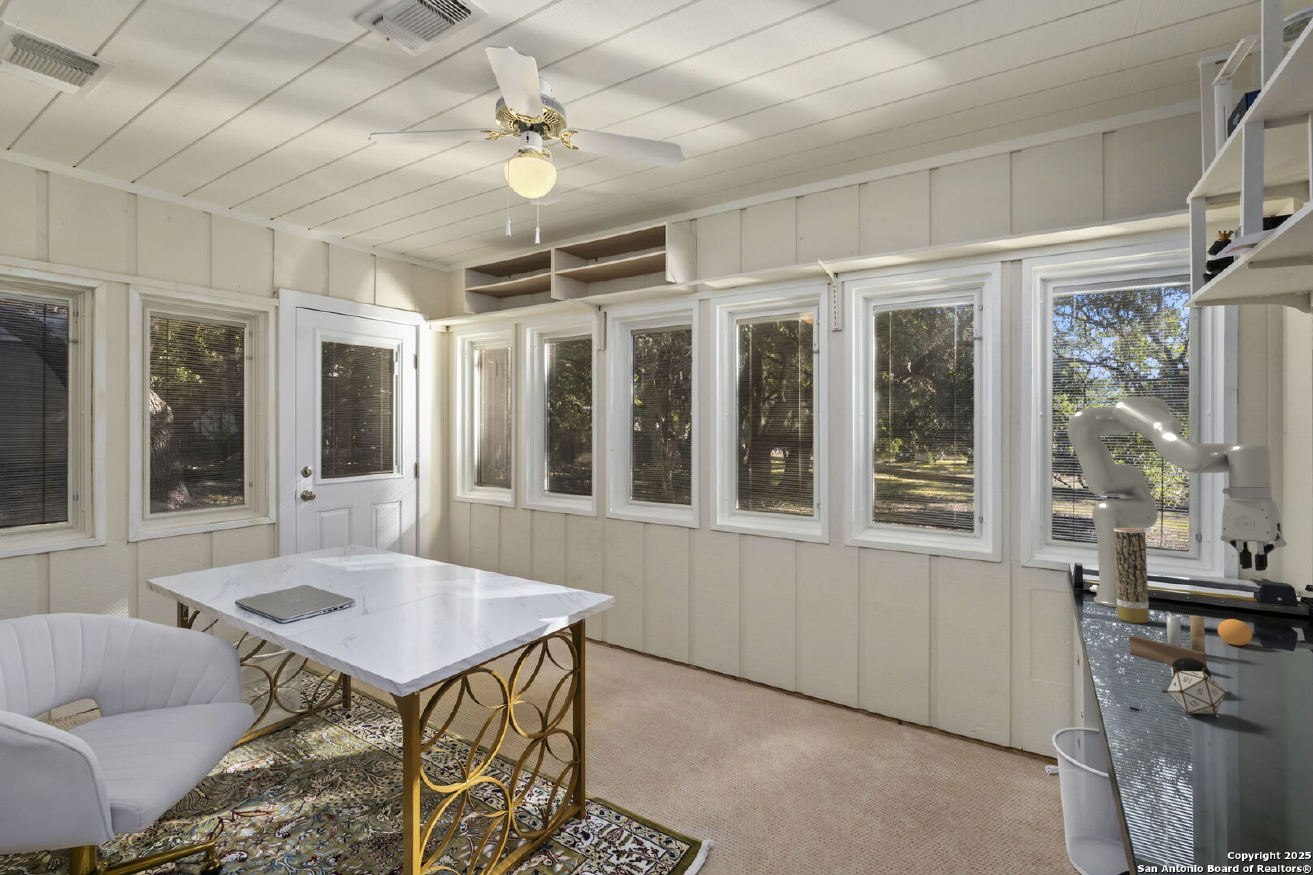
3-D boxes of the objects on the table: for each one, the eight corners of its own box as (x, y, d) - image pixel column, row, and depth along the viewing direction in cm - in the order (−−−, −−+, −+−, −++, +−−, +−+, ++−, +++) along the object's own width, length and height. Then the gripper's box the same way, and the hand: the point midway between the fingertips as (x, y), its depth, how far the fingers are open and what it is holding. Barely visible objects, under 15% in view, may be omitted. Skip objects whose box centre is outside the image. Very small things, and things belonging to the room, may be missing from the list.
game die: (1184, 734, 111) (1139, 682, 115) (1209, 709, 114) (1165, 659, 118) (1230, 728, 103) (1180, 673, 107) (1256, 702, 106) (1206, 649, 110)
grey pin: (1165, 652, 142) (1163, 615, 143) (1173, 651, 143) (1171, 615, 143) (1176, 656, 140) (1174, 618, 140) (1184, 655, 141) (1182, 617, 141)
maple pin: (1188, 653, 142) (1187, 616, 142) (1196, 652, 142) (1195, 615, 143) (1200, 656, 139) (1198, 618, 140) (1208, 655, 140) (1206, 617, 140)
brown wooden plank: (1134, 652, 143) (1133, 635, 143) (1207, 672, 130) (1206, 653, 130) (1130, 653, 142) (1129, 636, 143) (1203, 673, 130) (1202, 654, 130)
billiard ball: (1168, 681, 126) (1167, 651, 126) (1207, 686, 123) (1205, 656, 123) (1175, 691, 121) (1174, 660, 121) (1215, 697, 118) (1214, 665, 118)
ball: (1211, 642, 149) (1210, 617, 149) (1230, 639, 150) (1229, 615, 150) (1240, 649, 143) (1238, 623, 143) (1259, 647, 144) (1258, 621, 145)
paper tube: (1155, 624, 165) (1151, 530, 165) (1129, 624, 165) (1125, 531, 165) (1136, 617, 172) (1132, 527, 172) (1111, 617, 172) (1107, 527, 172)
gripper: (1202, 493, 157) (1205, 565, 157) (1285, 496, 142) (1288, 576, 142) (1219, 491, 160) (1222, 562, 159) (1301, 495, 145) (1305, 573, 145)
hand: (1253, 568), depth 151 cm, fingers closed
